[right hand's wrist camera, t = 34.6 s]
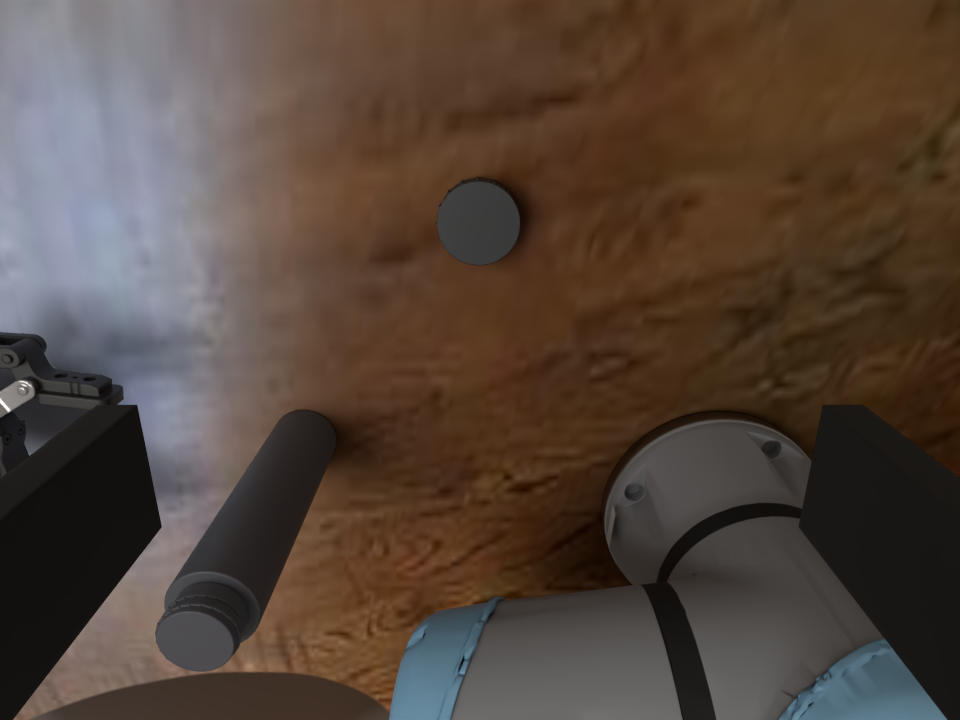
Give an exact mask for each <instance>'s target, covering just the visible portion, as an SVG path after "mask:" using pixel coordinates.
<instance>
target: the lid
mask: <svg viewBox="0 0 960 720" xmlns="http://www.w3.org/2000/svg"><path fill="white" fill-rule="evenodd" d="M517 207H518V204H517V202H515V201H514V199H513V197H512V196H511V194H510V193H509V191H508V189H507V188H506V189H505V188H504V187H503V186H502V185H500V184H498V183H497V182H495V180H493V181H492V180H489V179H484V178H479V177H477V178H473V179H468V180H465V181H463V180H462V181H461V183H459V184H457V185H456V186H454V187H453V188H452V189H451V190H448V192H447V195H446V196H445V198H444V200H443V202H442V204H441V203H440V205H439V212H438V217H437V223H436V225H437V229H438V234H439V237H440V241H441V242H442V244H443V246H444V247H445V249H446V250H447V251H448V252H449V253H450V254H451V255H452V256H453V257H455V258H456V259H458V260H459V261H461V262H464V263H466V264H471V265H487V264H491V263H494V262H496V261H498V260H500V259H501V258H503V257H504V256H505V255H507V254H508V253H509V252H510V250H511V249H512V248H513V246H514V245H515V243H516V241H517V239H518V235H519V232H520V223H521V219H520V215H519V211H518V208H517Z"/></svg>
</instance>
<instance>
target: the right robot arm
mask: <svg viewBox="0 0 960 720" xmlns="http://www.w3.org/2000/svg"><path fill="white" fill-rule="evenodd" d="M601 515H602V525H603V530H604V534H605V537H606V540H607V544H608V547H609V550H610V553H611V555H612V557H613V559H614V561H615V563H616V564H617V566H618V567H619V569H620V570H621V572H622V573H623V574H624V576H625V577H626V578H627V579H628V580H629V581H630V583H631V584H632V585H629V586H622V587H615V588H607V589H600V590H591V591H582V592H573V593H564V594H555V595H546V596H537V597H529V598H520V599H511V600H505V599H504V598H503V597H494V598H492V599H490V600H489V601H488V602H486V603H481V604H475V605H469V606H464V607H458V608H452V609H446V610H441V611H438V612H436V613H434V614H432V615H430V616H428V617H427V618H426V619H425V620H424V621H423V622H422V623H421V624H420V625H419V626H418V627H417V628H416V630H415V631H414V633H413V634H412V636H411V638H410V640H409V642H408V645H407V647H406V650H405V653H404V655H403V657H402V661H401V664H400V668H399V671H398V675H397V679H396V684H395V688H394V693H393V699H392V704H391V710H390V717H389V720H960V478H959V477H957V476H956V475H955V474H953V473H952V472H951V471H949V470H948V469H947V468H945V467H944V466H943V465H942V464H940V463H939V462H938V461H936V460H935V459H934V458H932V457H931V456H930V455H928V454H927V453H926V452H924V451H923V450H922V449H920V448H919V447H918V446H916V445H915V444H914V443H912V442H911V441H910V440H909V439H907V438H906V437H905V436H903V435H902V434H901V433H899V432H898V431H897V430H895V429H894V428H893V427H891V426H890V425H889V424H887V423H886V422H885V421H883V420H882V419H881V418H879V417H878V416H877V415H876V414H874V413H873V412H872V411H870V410H869V409H868V408H866V407H865V406H864V405H823V407H822V412H821V417H820V422H819V427H818V432H817V437H816V442H815V447H814V452H813V457H812V462H811V461H810V459H809V458H808V457H807V455H806V454H805V453H804V452H803V451H802V450H801V449H800V448H799V447H798V446H797V444H796V443H795V442H794V441H793V440H792V439H791V438H790V437H789V436H788V435H786V434H785V433H784V432H783V431H782V430H780V429H779V428H777V427H776V426H774V425H772V424H770V423H768V422H766V421H764V420H762V419H759V418H757V417H753V416H750V415H746V414H741V413H735V412H705V413H698V414H693V415H689V416H685V417H681V418H678V419H676V420H673V421H670V422H668V423H666V424H664V425H662V426H660V427H658V428H656V429H655V430H653V431H651V432H650V433H648V434H647V435H645V436H644V437H642V438H641V439H640V440H639V441H638V442H636V443H635V444H634V445H633V446H632V447H631V448H630V449H629V450H628V451H627V452H626V453H625V454H624V456H623V457H622V458H621V459H620V461H619V462H618V463H617V465H616V466H615V468H614V470H613V472H612V473H611V475H610V477H609V480H608V482H607V484H606V487H605V491H604V494H603V500H602V509H601ZM161 527H162V526H161V521H160V516H159V511H158V506H157V501H156V496H155V491H154V487H153V482H152V477H151V472H150V467H149V462H148V457H147V452H146V447H145V442H144V437H143V432H142V427H141V422H140V417H139V412H138V407H137V405H96V406H95V407H94V408H92V409H91V410H90V411H88V412H87V413H86V414H84V415H83V416H82V417H81V418H79V419H78V420H77V421H75V422H74V423H73V424H71V425H70V426H69V427H67V428H66V429H65V430H63V431H62V432H61V433H59V434H58V435H57V436H55V437H54V438H53V439H51V440H50V441H49V442H48V443H46V444H45V445H44V446H42V447H41V448H40V449H38V450H37V451H36V452H34V453H33V454H32V455H30V456H29V457H28V458H26V459H25V460H24V461H22V462H21V463H20V464H18V465H17V466H16V467H15V468H13V469H12V470H11V471H9V472H8V473H7V474H5V475H4V476H3V477H1V478H0V720H13V719H14V718H15V716H16V715H17V714H18V712H19V711H20V710H21V708H22V707H23V706H24V705H25V703H26V702H27V701H28V699H29V698H30V697H31V695H32V694H33V693H34V692H35V690H36V689H37V688H38V686H39V685H40V684H41V683H42V681H43V680H44V679H45V677H46V676H47V675H48V673H49V672H50V671H51V670H52V668H53V667H54V666H55V664H56V663H57V662H58V661H59V659H60V658H61V657H62V655H63V654H64V653H65V651H66V650H67V649H68V648H69V646H70V645H71V644H72V642H73V641H74V640H75V639H76V637H77V636H78V635H79V633H80V632H81V631H82V629H83V628H84V627H85V626H86V624H87V623H88V622H89V620H90V619H91V618H92V617H93V615H94V614H95V613H96V611H97V610H98V609H99V607H100V606H101V605H102V604H103V602H104V601H105V600H106V598H107V597H108V596H109V595H110V593H111V592H112V591H113V589H114V588H115V587H116V585H117V584H118V583H119V582H120V580H121V579H122V578H123V576H124V575H125V574H126V573H127V571H128V570H129V569H130V567H131V566H132V565H133V563H134V562H135V561H136V560H137V558H138V557H139V556H140V554H141V553H142V552H143V551H144V549H145V548H146V547H147V545H148V544H149V543H150V541H151V540H152V539H153V538H154V536H155V535H156V534H157V532H158V531H159V530H160V529H161Z"/></svg>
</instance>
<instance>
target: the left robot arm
mask: <svg viewBox="0 0 960 720" xmlns="http://www.w3.org/2000/svg"><path fill="white" fill-rule="evenodd" d="M46 348H47V345H46V342H45V340H44V339H43V338H42V337H40V336H38V335H34V334H18V333H2V332H0V368H1V369H10V371H11V373H12V375H13V377H14V379H15V381H16V382H14V383H12V384H11V385H9V386H8V387H6V388H4V389H3V390H1V391H0V478H1V477H3V476H4V475H5V474H7V473H8V472H9V471H11V470H12V469H13V468H15V467H16V466H17V465H18V464H20V463H21V462H22V461H24V460H25V459H26V458H28V457H29V454H28V452H27V450H26V447H25V445H24V440H25V435H26V429H25V421H20V420H19V419H18V417H17V416H16V414H15V413H14V412H13V411H12V410H14V409H15V408H17V407H19V406H20V405H22V404H23V403H25V402H27V401H28V400H30V399H32V398H39V403H40V405H48V406H57V407H66V408H75V409H84V410H91V409H92V408H94V407H95V406H96V405H117V404H118V403H119V402H120V401H122V400H123V399H124V397H123V387H122V386H120V385H114V384H112V379H110V378H107V377H105V376H103V375H96V374H87V373H86V374H84V373H78V372H69V371H61V370H58V369H57V368H56V367H54V366H52V365H50V364H49V362H48V361H47V359H46V357H45V355H44V352H45V350H46Z"/></svg>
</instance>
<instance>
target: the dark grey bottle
mask: <svg viewBox="0 0 960 720" xmlns="http://www.w3.org/2000/svg"><path fill="white" fill-rule="evenodd" d="M335 447H336V434H335V431H334V429H333V427H332V425H331V424H330V422H329V421H328V420H327V419H326V418H324V417H323V416H321V415H320V414H318V413H315V412H312V411H308V410H297V411H293V412H290V413H288V414H286V415H285V416H283V417H282V418H281V419H280V420H279V421H278V423H277V424H276V426H275V427H274V429H273V430H272V432H271V433H270V435H269V436H268V438H267V440H266V441H265V443H264V444H263V446H262V447H261V449H260V450H259V452H258V453H257V455H256V456H255V458H254V459H253V461H252V462H251V464H250V465H249V467H248V468H247V470H246V471H245V473H244V474H243V476H242V478H241V479H240V481H239V482H238V484H237V485H236V487H235V488H234V490H233V491H232V493H231V494H230V496H229V497H228V499H227V500H226V502H225V503H224V505H223V506H222V508H221V509H220V511H219V513H218V514H217V516H216V517H215V519H214V520H213V522H212V523H211V525H210V526H209V528H208V529H207V531H206V532H205V534H204V535H203V537H202V538H201V540H200V541H199V543H198V544H197V546H196V547H195V549H194V551H193V552H192V554H191V555H190V557H189V558H188V560H187V561H186V563H185V564H184V566H183V567H182V569H181V570H180V572H179V573H178V575H177V576H176V578H175V579H174V581H173V582H172V584H171V585H170V587H169V589H168V591H167V593H166V596H165V613H164V614H163V616H162V617H161V619H160V620H159V622H158V624H157V628H156V632H155V635H156V643H157V645H158V647H159V649H160V651H161V652H162V654H163V655H164V656H165V657H166V659H168V660H169V661H170V662H172V663H173V664H175V665H177V666H179V667H181V668H184V669H187V670H191V671H210V670H214V669H217V668H219V667H221V666H223V665H224V664H225V663H226V662H228V661H229V659H230V658H231V656H232V655H234V654H235V652H236V651H237V649H238V648H239V645H240V643H241V642H243V641H245V640H246V639H248V638H249V637H250V636H251V635H252V634H253V633H254V632H255V631H256V629H257V627H258V625H259V623H260V621H261V618H262V616H263V614H264V611H265V609H266V607H267V604H268V602H269V600H270V598H271V595H272V593H273V591H274V588H275V586H276V584H277V581H278V579H279V577H280V574H281V572H282V570H283V568H284V565H285V563H286V561H287V558H288V556H289V554H290V551H291V549H292V547H293V545H294V542H295V540H296V538H297V535H298V533H299V531H300V528H301V526H302V524H303V522H304V519H305V517H306V515H307V512H308V510H309V508H310V505H311V503H312V501H313V498H314V496H315V494H316V492H317V489H318V487H319V485H320V482H321V480H322V478H323V475H324V473H325V471H326V469H327V466H328V464H329V462H330V459H331V457H332V455H333V452H334V450H335Z"/></svg>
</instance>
